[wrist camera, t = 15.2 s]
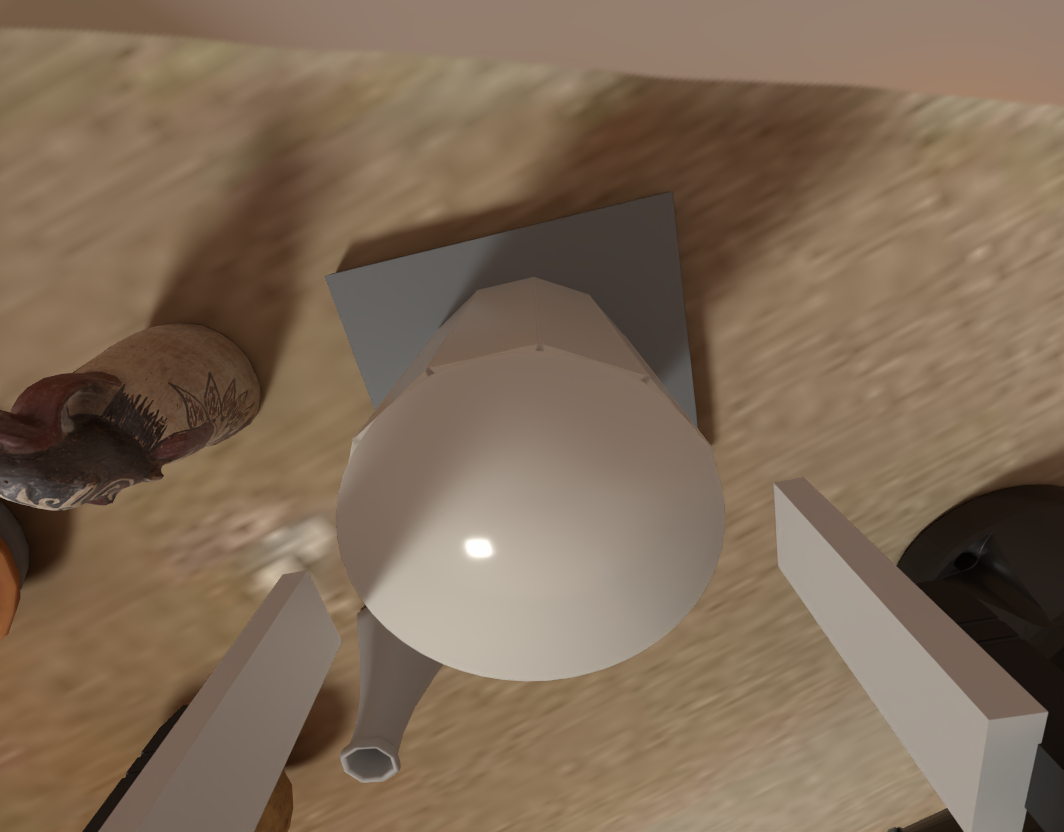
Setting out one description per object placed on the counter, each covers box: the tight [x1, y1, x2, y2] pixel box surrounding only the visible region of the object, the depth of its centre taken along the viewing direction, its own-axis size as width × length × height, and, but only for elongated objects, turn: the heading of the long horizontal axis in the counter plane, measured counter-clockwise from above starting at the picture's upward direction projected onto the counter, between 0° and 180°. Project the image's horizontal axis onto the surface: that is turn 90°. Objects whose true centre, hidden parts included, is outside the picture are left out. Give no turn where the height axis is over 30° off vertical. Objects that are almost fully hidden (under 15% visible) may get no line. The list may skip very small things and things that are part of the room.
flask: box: [340, 607, 443, 783], centre depth 32 cm, size 7×7×10 cm
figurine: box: [0, 323, 260, 510], centre depth 24 cm, size 7×7×12 cm
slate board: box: [325, 192, 698, 428], centre depth 28 cm, size 18×16×2 cm
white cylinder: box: [336, 277, 725, 681], centre depth 21 cm, size 11×11×14 cm
